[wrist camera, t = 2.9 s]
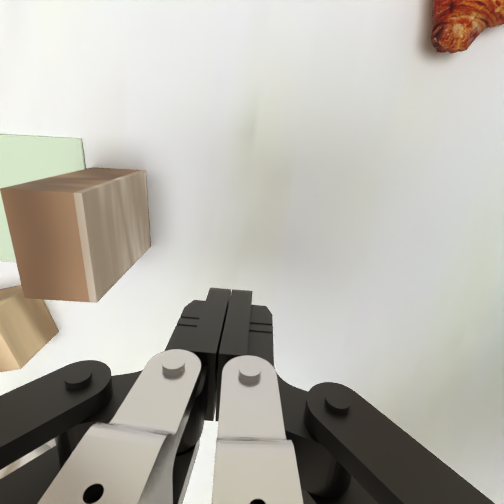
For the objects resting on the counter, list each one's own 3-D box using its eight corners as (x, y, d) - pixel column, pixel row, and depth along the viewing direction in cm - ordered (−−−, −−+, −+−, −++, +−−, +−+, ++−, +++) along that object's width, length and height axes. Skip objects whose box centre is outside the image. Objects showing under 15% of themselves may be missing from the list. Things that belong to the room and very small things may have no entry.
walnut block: (145, 170, 24) (81, 193, 16) (150, 246, 26) (96, 302, 18) (92, 167, 24) (-1, 188, 16) (101, 243, 26) (24, 298, 18)
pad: (81, 138, 23) (80, 138, 23) (98, 266, 27) (97, 267, 27) (-56, 131, 23) (-58, 131, 23) (-21, 258, 27) (-23, 259, 27)
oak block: (35, 282, 28) (-11, 313, 23) (59, 330, 29) (20, 368, 25) (-17, 292, 28) (-72, 324, 24) (10, 339, 30) (-37, 378, 25)
